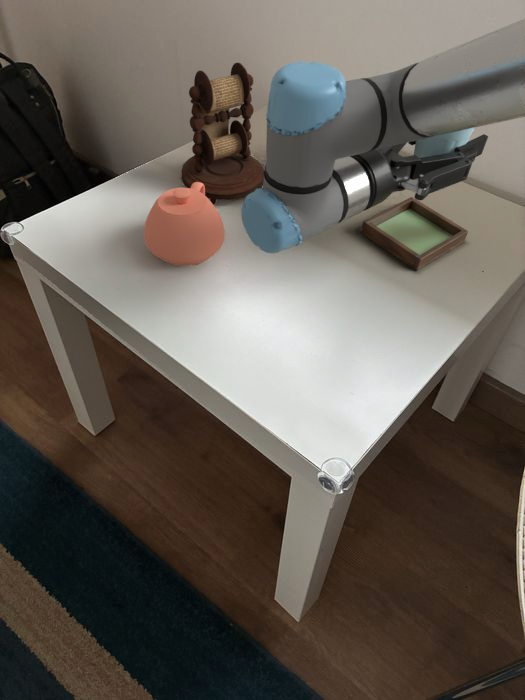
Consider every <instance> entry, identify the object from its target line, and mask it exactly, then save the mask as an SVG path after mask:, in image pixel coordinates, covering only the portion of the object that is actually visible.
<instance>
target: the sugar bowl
mask: <svg viewBox="0 0 525 700" xmlns="http://www.w3.org/2000/svg"><path fill="white" fill-rule="evenodd" d="M144 224H145V225H144V231H143V236H144V237H143V238H144V243H145V246H146V247H147V249H148V250H149V251H150V253H151V254H153V256H155V257H156V258H158V259H159V260H162V261H164V262H165V263H168V264H171V265H174V266H183V267H184V266H187V267H188V266H199V265H200V264H202V263H205V262H206V261H208V260H210V258H212V257H213V256H215V255H216V254H217V253H218V252H219V251H220V250H221V248H222V247H223V245H224V243H225V239H226V230H225V225H224V221H223V219H222V217H221V215H220V212H219V211H218V209H217V208H216V206H215V204H214V205H213V204H212V203H211V201H210V199H209V198H207V197H206V196H205V186H204V184H203V183H200V182H194V183H193V184H192V185H191V188H186V187H176V188H175V187H174V188H171V189H168V190H166V191H165V192H163V193H162V194H160V195H159V196H158V198H157V199H156V200H155V202H154V203H153V205H152V207H151V208H150V210H149V211H148V214H147V216H146V220H145V223H144Z"/></svg>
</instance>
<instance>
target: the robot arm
mask: <svg viewBox="0 0 525 700" xmlns="http://www.w3.org/2000/svg"><path fill="white" fill-rule="evenodd" d="M265 116H266V119H265V120H266V145H265V146H266V152H265V153H266V154H265V166H264V182H263V184H262V187H261V188H258V189H255V191H254V192H252V193H250V194H249V195H247V196H246V197H244V198H245V199H244V200H243V202H242V204H241V208H240V209H241V210H240V214H241V215H240V216H241V221H242V225H243V228H244V231H245V232H246V234H247V236H248V238H249V239H250V241H251V242H252V244H253V245H254V246H256V247H258V248H259V249H260V251H262V252H263V253H268V254H278V253H281V252H283V251H285V250H288V249H291V248H293V247H298V246H300V245H301V244H302V243H303V242H305V241H307V240H309V239H311V238H314V237H315V236H317V235H319V234H321V233H323V232H325V231H327V230H329V229H331V228H332V227H335V226H337V225H339V224H341V223H343V222H345V221H347V220H349V219H351V218H353V217H355V216H356V215H359V214H361V213H362V212H364V211H367V210H370V209H371V208H373V207H375V206H378V205H379V204H381V203H383V202H384V201H386V200H387V199H388V198H389V196H391V195H392V194H393V193H394V192H395V193H396V192H403V191H405V190H408V191H410V192H413V193H415V194H414V199H416V200H418V201H423V200H425V199H426V198H427V197H428V196H429V195H430V194H433V193H435V192H439V191H441V190H440V189H442V190H444V189H445V188H448V187H450V186H454V185H456V184H459V183H461V182H463V181H466V180H467V179H468V176H469V174H470V170H471V169H472V166H473V163H475V160H476V158H477V157H479V156H481V155H483V152H484V149H485V147H486V144H487V141H488V138H489V136H488V135H487V134H485V133H484V134H481V135H479V136H477V137H475V138H473V139H470V140H468V142H467V143H466V144H465V145H462V146H460V147H456V148H455V151H454V153H447V154H441V155H434V156H428V157H422V158H419V157H418V156H416V155H414V154H413V155H406V156H403V155H400V154H399V153H400V152H401V151H402V149H404V147H405V146H406V145H407V144H409V145H410V146H415V144H416V141H418V140H423V139H427V138H430V137H433V136H437V135H442V134H446V133H451V132H456V131H461V130H465V129H470V128H474V129H475V128H479V127H484V126H488V125H494V124H498V123H503V122H506V121H507V122H508V121H512V120H516V119H521V118H525V18H522V19H520V20H518V21H515V22H512V23H510V24H508V25H505V26H503V27H501V28H498V29H496V30H493V31H491V32H488V33H486V34H483V35H481V36H478V37H476V38H474V39H471V40H469V41H465V42H464V43H461V44H459V45H457V46H454V47H452V48H449V49H447V50H445V51H442V52H440V53H437V54H435V55H432V56H429V57H428V58H425V59H423V60H420V61H418V62H415V63H413V64H410V65H408V66H406V67H403V68H400V69H398V70H395V71H391V72H387V73H383V74H379V75H375V76H370V77H363V78H361V77H360V78H355V79H351V80H346V78H345V75H343V73H342V72H341V71H340V70H338V69H337V68H336V67H334V66H332V65H329V64H326V63H323V62H317V61H312V62H307V61H295V62H291V63H288V64H285V65H283V66H282V67H280V68H279V69H278V70H276V71H275V73H274V75H273V76H272V79H271V82H270V88H269V93H268V101H267V108H266V115H265ZM443 188H444V189H443ZM438 190H439V191H438Z"/></svg>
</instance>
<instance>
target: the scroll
mask: <svg viewBox="0 0 525 700" xmlns="http://www.w3.org/2000/svg"><path fill="white" fill-rule="evenodd" d="M193 84H194V85H193V86H191V87H190V88H189V90H188V94H189V97H190V103H191V104H192V107H191V115H192V116H191V117H190V118H189V126H190V128H191V129H192V132H193V137H192V142H193V145H192V147H191V151H192V153H193V154H194V155H193V156H191V157H189V158H188V159H187V160H186V161H184V163H183V164H182V166H181V170H180V176H181V182H182V184H183V186H184V188H191V185H192V184H193V183H194V182H200V183H203V184H204V186H205V196H206V197H207V198H208V199H209V200H210V201H211V203H212V204H213V205H214V206H215V205H216V203H217V201H233V200H238V199H242V198H246V196H247V195H249V194H250V193H252V192H254V191H255V189H258V188H262V187H263V184H264V171H265V167H264V166H263V165H262V163H261V162H260V161H259V160H258V159H256V158H255V157H253V156H251V154H252V151H251V148H250V145H251V140H252V137H253V133H252V132H251V128H252V125H251V121H250V120H251V119H252V116H253V115H254V111H255V110H254V106H253V104H252V99H253V97H252V94H251V92H252V90H253V87H252V86H253V85H254V77H253V76H252V75H251V74H250V73H249V72H248V70H247V69H246V68H245V66H244V65H243V64H242V63H241V62H234V63H233V65H232V66H231V69H230V75H228V76H223V77H218V78H214V79H210V78H209V76H208V75H207V73H206V71H203V70H198V71H196V73H195V76H194V81H193ZM238 107H239V108H238ZM230 109H231V110H230ZM240 116H241V118H242V119H243V121H242V123H241V122H240V121H239V120H237V119H235V120H233V121H231V123H230V119H231V118H240Z"/></svg>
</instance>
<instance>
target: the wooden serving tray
mask: <svg viewBox="0 0 525 700" xmlns="http://www.w3.org/2000/svg"><path fill="white" fill-rule="evenodd" d="M468 233H469V230H467V229H465V228H464V227H462V226H461V225H459V224H458V223H456V222H454V221H453V220H451V219H449V218H447V217H446V216H444V215H443V214H441V213H439V212H438V211H436V210H434V209H432V208H431V207H429V206H428V205H426V204H424V203H423V202H421V201H420V200H417V199H415V197H413V196H410V197H408V198H406V199H404V200H402V201H400V202H399V203H396V204H394V205H392V206H390V207H389V208H387V209H385V210H383V211H381V212H379V213H376V214H375V215H372V216H371V217H368V218H367V219H365V220H363V221H362V225H361V229H360V234H362V235H363V236H364V237H366V238H368V239H369V240H370V241H372V242H373V243H375V244H376V245H378V246H379V247H381V248H382V249H384V250H385V251H387V252H388V253H390V254H391V255H392V256H394V257H395V258H397V259H399V260H400V261H402V262H403V263H404V264H406V265H407V266H409V267H410V268H412V269H413V270H414V271H416V272H418V271H419V270H421V269H423V268H424V267H426V266H428V265H429V264H431V263H432V262H434V261H436V260H438V259H439V258H441V257H442V256H444V255H446V254H447V253H450V252H452V250H454V249H456V248H457V247H459V246H460V245H462V244H464V243H465V241H466V238H467V235H468Z"/></svg>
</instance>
